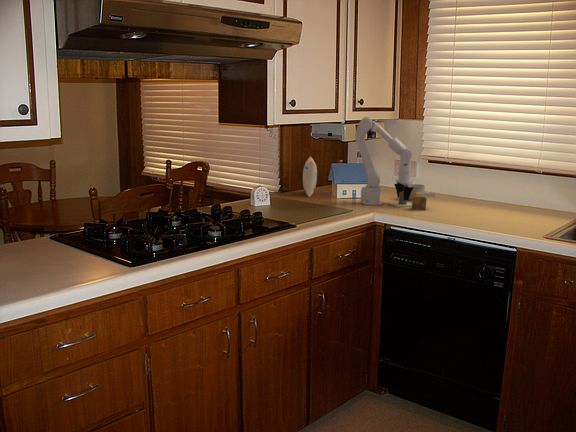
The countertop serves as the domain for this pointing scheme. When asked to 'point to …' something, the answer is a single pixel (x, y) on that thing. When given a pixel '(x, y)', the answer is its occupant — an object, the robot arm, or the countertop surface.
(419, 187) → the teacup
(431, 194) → the steel bar
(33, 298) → the countertop surface
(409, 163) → the robot arm
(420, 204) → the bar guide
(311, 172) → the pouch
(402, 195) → the plug
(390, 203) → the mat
